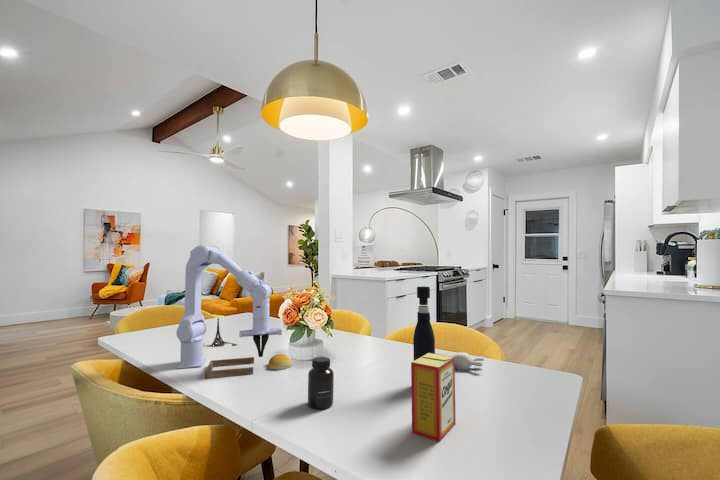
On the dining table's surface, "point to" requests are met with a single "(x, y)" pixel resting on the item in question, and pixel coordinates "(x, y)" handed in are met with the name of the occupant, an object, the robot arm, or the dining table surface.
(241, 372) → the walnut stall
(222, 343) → the eiffel tower figurine
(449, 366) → the baking soda box
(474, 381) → the dining table surface
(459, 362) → the grey fingered piece
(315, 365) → the supplement bottle
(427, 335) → the wine bottle
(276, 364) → the bread roll
